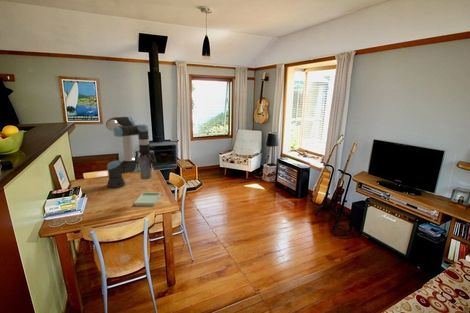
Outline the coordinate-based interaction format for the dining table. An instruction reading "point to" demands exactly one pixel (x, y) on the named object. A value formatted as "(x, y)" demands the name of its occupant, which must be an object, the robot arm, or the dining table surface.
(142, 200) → the tray
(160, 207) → the dining table surface
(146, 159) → the moka pot
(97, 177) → the dining table surface
